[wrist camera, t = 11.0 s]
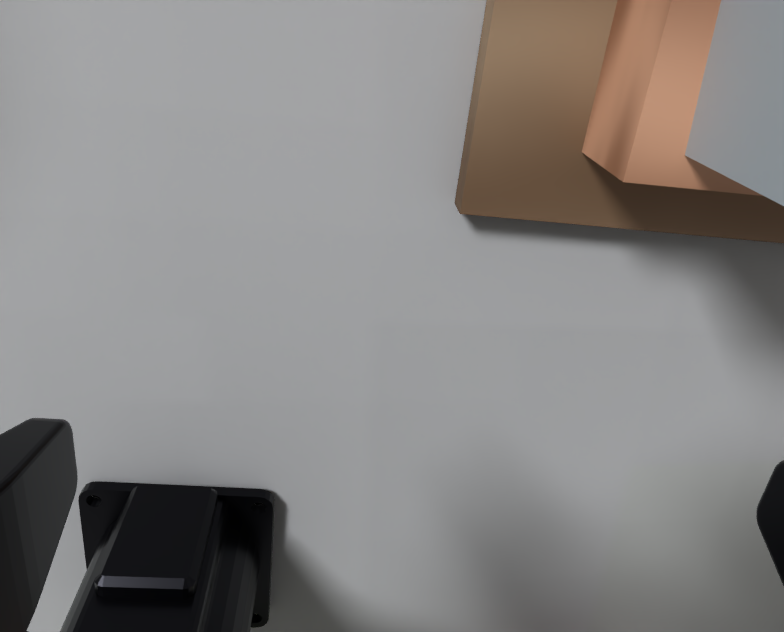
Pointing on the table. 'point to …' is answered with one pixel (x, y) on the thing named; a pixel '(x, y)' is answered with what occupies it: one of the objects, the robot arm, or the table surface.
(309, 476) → the table surface
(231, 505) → the robot arm
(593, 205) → the tower base
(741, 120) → the grey brick
